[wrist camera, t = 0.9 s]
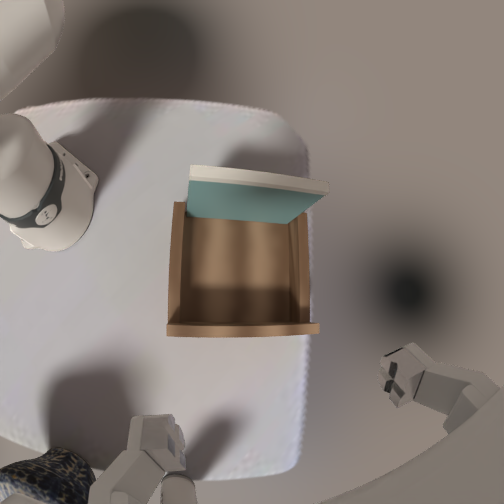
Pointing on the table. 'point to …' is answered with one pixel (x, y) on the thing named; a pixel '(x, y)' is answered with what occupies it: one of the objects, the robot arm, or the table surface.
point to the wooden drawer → (238, 278)
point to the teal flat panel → (250, 194)
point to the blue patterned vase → (49, 478)
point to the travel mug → (177, 490)
